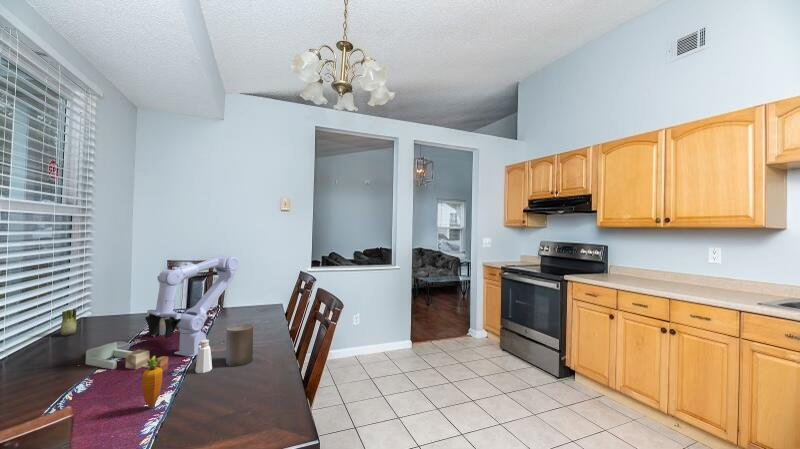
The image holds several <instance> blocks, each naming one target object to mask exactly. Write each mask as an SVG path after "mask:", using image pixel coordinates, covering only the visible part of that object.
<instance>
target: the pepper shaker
mask: <svg viewBox="0 0 800 449" xmlns="http://www.w3.org/2000/svg"><path fill="white" fill-rule="evenodd" d="M209 342H210V339H207V338H206V339H205V340H201V341H200V343H201V344H200V345H201V346H200V348H199V349H198V354H197V355H196V364H195V371H194V372H195V373H197V374H204V373H205V374H206V373H209V372H211V370H213V363H212V353H211V351H212V350H211V346H210V345H209Z"/></svg>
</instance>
